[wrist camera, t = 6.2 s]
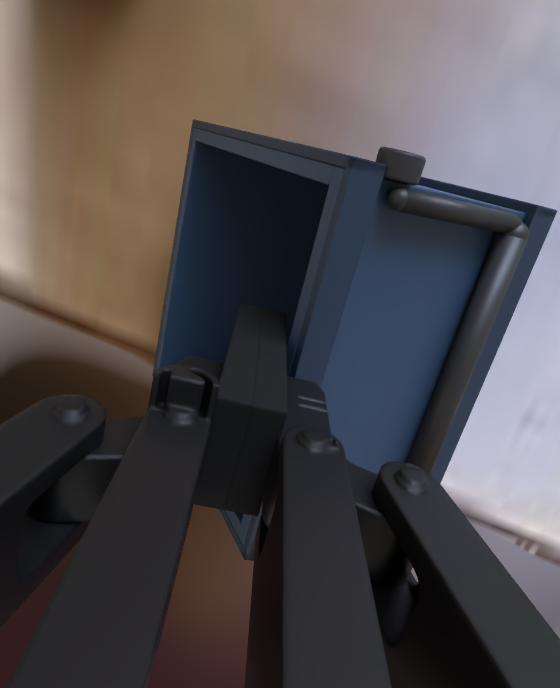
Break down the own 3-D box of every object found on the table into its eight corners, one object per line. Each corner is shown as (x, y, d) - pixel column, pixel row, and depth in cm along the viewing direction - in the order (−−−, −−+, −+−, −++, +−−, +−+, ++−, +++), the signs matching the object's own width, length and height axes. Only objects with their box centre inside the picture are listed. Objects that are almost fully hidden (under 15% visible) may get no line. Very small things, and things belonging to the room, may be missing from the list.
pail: (194, 109, 22) (374, 141, 11) (343, 149, 25) (581, 201, 15) (151, 382, 26) (249, 584, 16) (282, 380, 30) (430, 541, 20)
